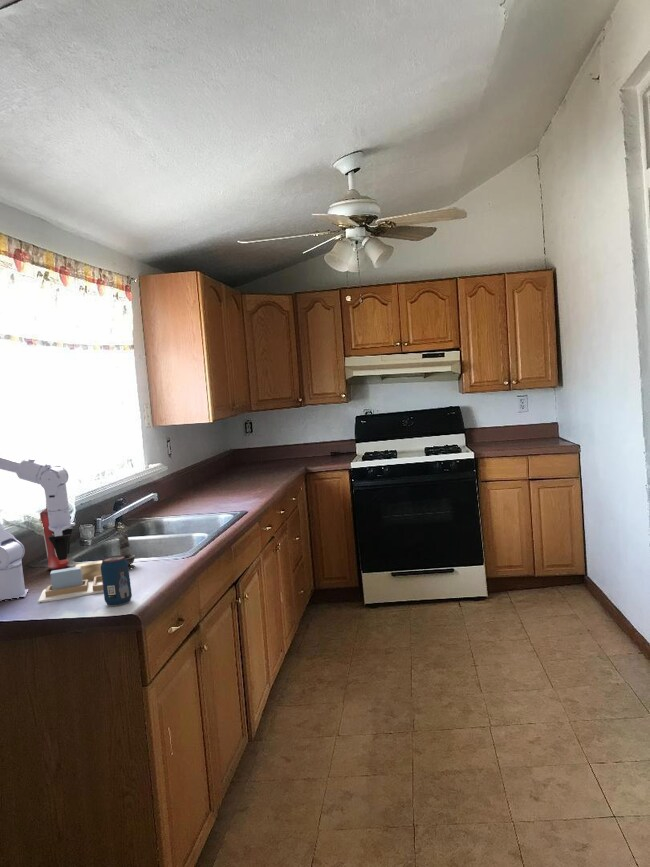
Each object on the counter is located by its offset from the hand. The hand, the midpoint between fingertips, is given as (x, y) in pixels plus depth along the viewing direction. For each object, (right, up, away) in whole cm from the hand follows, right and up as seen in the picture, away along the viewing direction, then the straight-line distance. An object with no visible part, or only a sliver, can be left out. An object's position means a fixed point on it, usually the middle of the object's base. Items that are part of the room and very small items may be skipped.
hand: (64, 556), depth 202 cm
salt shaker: (+11, -8, +24) cm, 28 cm away
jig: (+4, -10, +1) cm, 11 cm away
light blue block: (+1, -10, 0) cm, 10 cm away
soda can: (+20, -10, -15) cm, 27 cm away
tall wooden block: (+4, -9, +14) cm, 17 cm away
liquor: (-14, -10, +34) cm, 38 cm away
